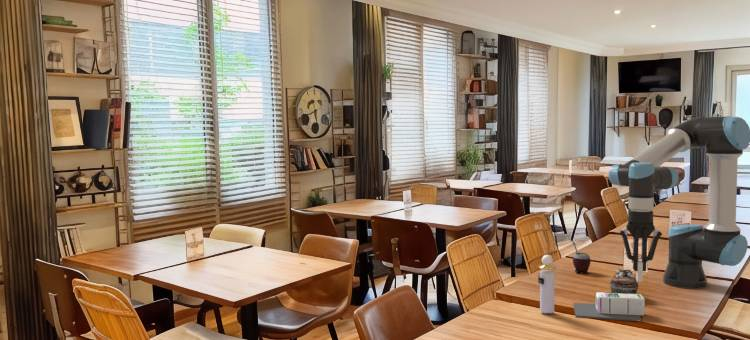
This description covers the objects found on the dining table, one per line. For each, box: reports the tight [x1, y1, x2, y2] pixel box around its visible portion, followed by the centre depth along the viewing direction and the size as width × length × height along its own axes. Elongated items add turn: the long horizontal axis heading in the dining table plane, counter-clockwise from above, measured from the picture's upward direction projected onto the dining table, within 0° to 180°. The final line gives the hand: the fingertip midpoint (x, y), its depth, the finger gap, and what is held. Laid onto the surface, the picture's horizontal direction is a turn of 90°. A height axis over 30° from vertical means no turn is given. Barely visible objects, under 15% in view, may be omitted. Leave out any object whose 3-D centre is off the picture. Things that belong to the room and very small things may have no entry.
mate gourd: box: [567, 237, 591, 275], centre depth 250 cm, size 8×8×15 cm
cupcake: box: [609, 269, 639, 294], centre depth 215 cm, size 10×10×10 cm
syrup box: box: [595, 291, 646, 316], centre depth 197 cm, size 6×6×14 cm
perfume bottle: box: [537, 254, 557, 314], centre depth 199 cm, size 6×6×20 cm
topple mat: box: [572, 302, 642, 322], centre depth 199 cm, size 20×14×1 cm
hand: (639, 280), depth 195 cm, fingers closed
